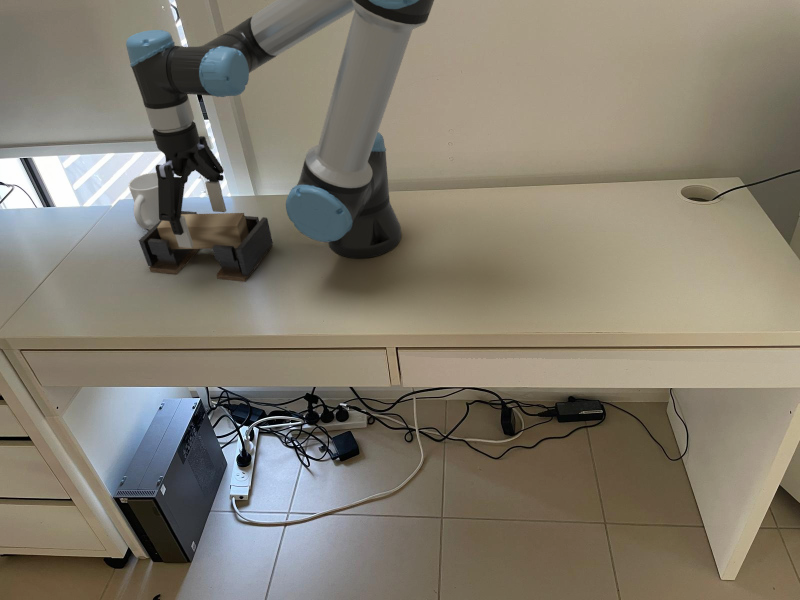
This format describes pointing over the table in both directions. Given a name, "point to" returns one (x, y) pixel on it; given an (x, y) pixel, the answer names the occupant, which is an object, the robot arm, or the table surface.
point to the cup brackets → (231, 259)
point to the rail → (209, 230)
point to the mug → (145, 200)
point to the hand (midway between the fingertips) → (203, 228)
